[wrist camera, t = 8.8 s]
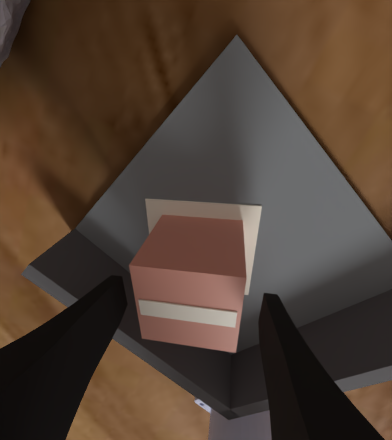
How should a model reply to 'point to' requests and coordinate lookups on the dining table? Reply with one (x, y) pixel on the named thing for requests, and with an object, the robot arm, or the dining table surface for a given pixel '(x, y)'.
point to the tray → (253, 237)
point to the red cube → (191, 282)
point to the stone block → (10, 24)
